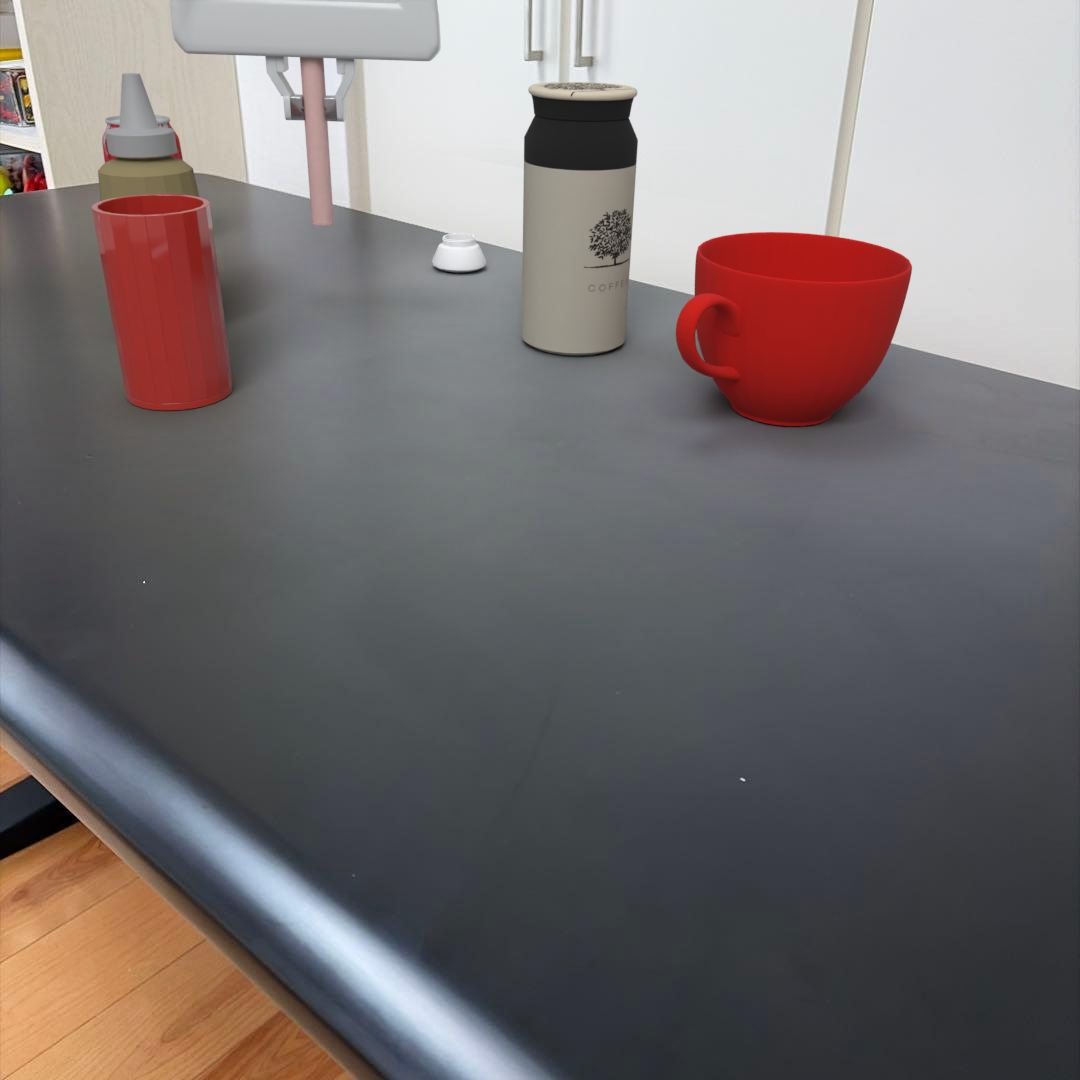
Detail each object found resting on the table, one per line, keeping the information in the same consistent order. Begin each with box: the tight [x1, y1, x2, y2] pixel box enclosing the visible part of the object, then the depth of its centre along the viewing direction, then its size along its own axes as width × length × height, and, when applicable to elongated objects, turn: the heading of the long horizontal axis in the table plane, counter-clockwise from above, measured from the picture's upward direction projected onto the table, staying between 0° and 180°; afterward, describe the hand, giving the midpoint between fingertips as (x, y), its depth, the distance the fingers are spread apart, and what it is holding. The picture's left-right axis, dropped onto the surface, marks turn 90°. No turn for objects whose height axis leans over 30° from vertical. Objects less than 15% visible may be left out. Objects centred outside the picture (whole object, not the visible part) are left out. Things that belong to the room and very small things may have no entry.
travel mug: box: [521, 81, 639, 357], centre depth 75 cm, size 8×8×18 cm
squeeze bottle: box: [97, 72, 200, 202], centre depth 76 cm, size 8×8×18 cm
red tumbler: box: [91, 194, 234, 412], centre depth 65 cm, size 7×7×12 cm
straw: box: [299, 57, 335, 227], centre depth 83 cm, size 2×2×15 cm
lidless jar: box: [431, 232, 487, 274], centre depth 97 cm, size 5×3×5 cm
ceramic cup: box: [675, 231, 913, 427], centre depth 64 cm, size 13×17×10 cm
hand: (315, 120), depth 82 cm, fingers closed on straw, 2 cm apart
